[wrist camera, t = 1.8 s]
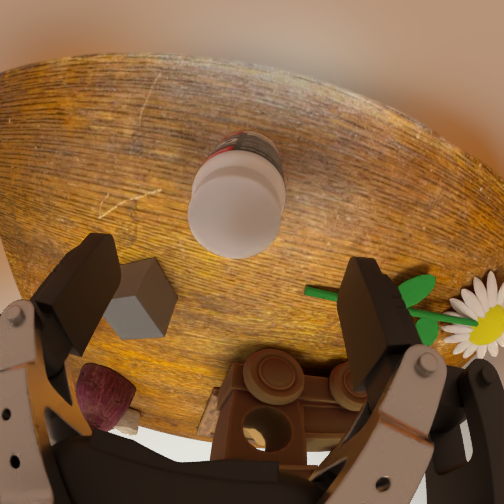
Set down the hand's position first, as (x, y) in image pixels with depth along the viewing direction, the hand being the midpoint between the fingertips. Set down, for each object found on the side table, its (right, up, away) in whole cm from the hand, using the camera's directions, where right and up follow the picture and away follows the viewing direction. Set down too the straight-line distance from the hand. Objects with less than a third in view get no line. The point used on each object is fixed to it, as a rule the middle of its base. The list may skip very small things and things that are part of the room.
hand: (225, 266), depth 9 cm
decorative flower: (+20, -5, +16) cm, 26 cm away
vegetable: (-24, -22, +31) cm, 45 cm away
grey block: (-9, -2, +16) cm, 19 cm away
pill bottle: (0, +7, +10) cm, 12 cm away
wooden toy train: (+7, -15, +24) cm, 30 cm away
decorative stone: (-28, -34, +39) cm, 59 cm away
